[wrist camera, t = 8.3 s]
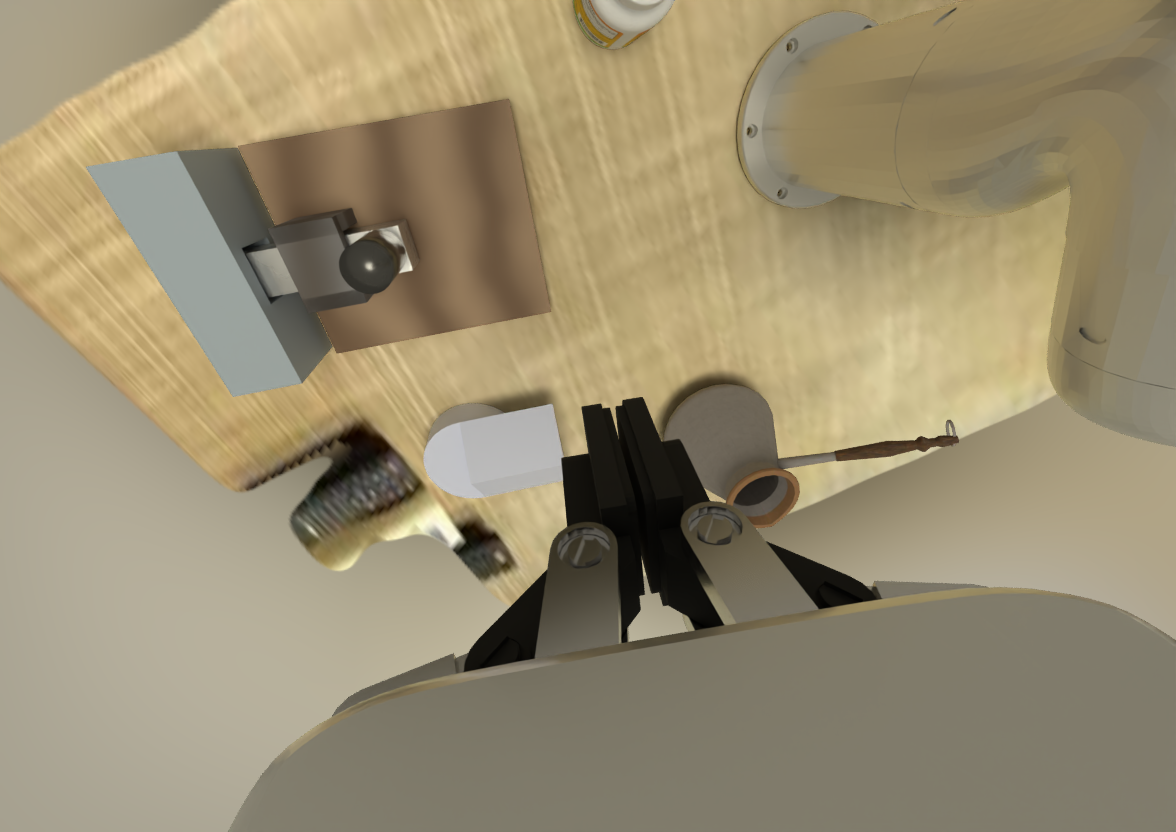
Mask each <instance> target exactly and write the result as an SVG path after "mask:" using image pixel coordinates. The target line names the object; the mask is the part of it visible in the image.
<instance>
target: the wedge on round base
mask: <svg viewBox="0 0 1176 832" xmlns="http://www.w3.org/2000/svg"><path fill="white" fill-rule="evenodd" d="M563 457H564V454H563V450H562V445H561V441H560V436H559V431H558V427H557V422H556V418H555V413H554V409H553V404H548V405H543V406H539V407H534V408H529V409H524V410H519V411H514V412H509V413H504V412H502V411H501V410H499V409H497V408H495V407H492V406H489V405H485V404H478V403H468V404H462V405H458V406H455V407H453V408H450V409H448V410H447V411H445V412H444V413H442V414H441V415H440V416H439V417H438V418H437V419H436V420H435V422H434V423H433V425H432V427H431V430H430V433H429V437H428V441H427V445H426V448H425V452H424V466H425V469H426V472H427V474H428V476H429V477H430V479H431V480H432V481H433V482H434V483H435V484H436V485H437V486H438V487H439V488H441V489H442V490H444V491H446V492H448V493H450V494H453V495H455V496H459V497H464V498H482V497H488V496H493V495H497V494H502V493H507V492H512V491H516V490H521V489H526V488H531V487H535V486H540V485H545V484H550V483H555V482H559V481H563V475H562V464H561V458H563Z"/></svg>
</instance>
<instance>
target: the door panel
mask: <svg viewBox="0 0 1176 832" xmlns="http://www.w3.org/2000/svg"><path fill="white" fill-rule="evenodd" d="M238 147H239V149H240V151H241V153H242V155H243V158H244V160H245V162H246V164H247V166H248V168H249V170H250V172H251V174H252V176H253V179H254V181H255V183H256V185H257V187H258V189H259V191H260V193H261V195H262V197H263V199H264V202H265V204H266V206H267V208H268V210H269V212H270V214H271V216H272V218H273V220H274V223H275V225H276V226H274V227H271V228H269V229H268V231H269V233H270V235H271V237H272V239H273V241H274V243H275V245H276V247H277V249H278V251H279V253H280V255H281V257H282V259H283V261H284V263H285V265H286V267H287V269H288V272H289V274H290V276H291V278H292V280H293V282H294V284H295V286H296V288H297V290H298V292H299V294H300V296H301V298H302V300H303V302H304V304H305V306H306V308H307V311H308V313H309V314H310V313H315V312H317V313H318V315H319V317H320V319H321V321H322V323H323V325H324V327H325V330H326V332H327V334H328V336H329V338H330V340H331V342H332V344H333V346H334V348H335V350H336V353H342V352H347V351H352V350H357V349H363V348H368V347H373V346H378V345H383V344H388V343H393V342H399V341H404V340H409V339H414V338H419V337H424V336H429V335H435V334H440V333H445V332H450V331H455V330H460V329H465V328H471V327H476V326H481V325H486V324H491V323H496V322H501V321H507V320H512V319H517V318H522V317H527V316H532V315H537V314H543V313H548V312H551V308H550V303H549V298H548V293H547V288H546V283H545V278H544V273H543V268H542V263H541V258H540V253H539V248H538V243H537V238H536V233H535V228H534V223H533V218H532V212H531V207H530V202H529V197H528V192H527V187H526V182H525V177H524V172H523V167H522V162H521V157H520V152H519V147H518V142H517V137H516V132H515V127H514V122H513V117H512V112H511V107H510V102H509V99H506V100H500V101H495V102H489V103H483V104H477V105H472V106H466V107H460V108H454V109H449V110H443V111H437V112H431V113H425V114H420V115H414V116H408V117H402V118H397V119H391V120H385V121H379V122H374V123H368V124H362V125H356V126H351V127H345V128H339V129H333V130H328V131H322V132H316V133H310V134H304V135H299V136H293V137H287V138H281V139H276V140H270V141H264V142H258V143H253V144H247V145H241V146H238ZM402 219H406V221H407V224H408V227H409V229H410V232H411V235H412V238H413V241H414V244H415V247H416V250H417V253H418V256H419V259H420V261H419V262H418V264H417V265H416V267H415V268H414V270H412V271H407V272H402V273H398V275H397V276H396V277H395V278H394V280H393V281H392V282H391V284H390V285H389V286H388V287H387V288H386V289H385V290H384V291H382V292H380V293H377V294H365V293H361V292H359V291H357V290H355V289H353V288H352V287H351V286H349V285H348V284H347V283H346V281H345V280H344V279H343V277H342V275H341V273H340V269H339V259H340V256H341V254H342V252H343V251H344V250H345V249H346V248H347V247H348V243H347V241H346V238H345V236H344V234H343V231H344V230H347V229H353V228H358V227H364V226H369V225H374V224H380V223H385V222H391V221H396V220H402Z"/></svg>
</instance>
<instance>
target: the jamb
mask: <svg viewBox="0 0 1176 832" xmlns="http://www.w3.org/2000/svg"><path fill="white" fill-rule="evenodd" d="M86 168H87V170H88V172H89V173H90V175H91V176H92V178H93V179H94V181H95V183H96V184H97V186H98V187H99V189H100V190H101V192H102V193H103V195H104V197H105V198H106V200H107V201H108V203H109V204H110V206H111V207H112V209H113V211H114V212H115V214H116V215H117V217H118V218H119V220H120V221H121V223H122V225H123V226H124V228H125V229H126V231H127V232H128V234H129V236H130V237H131V239H132V240H133V242H134V243H135V245H136V246H137V248H138V250H139V251H140V253H141V254H142V256H143V257H144V259H145V260H146V262H147V264H148V265H149V267H150V268H151V270H152V271H153V273H154V274H155V276H156V278H157V279H158V281H159V282H160V284H161V285H162V287H163V288H164V290H165V292H166V293H167V295H168V296H169V298H170V299H171V301H172V303H173V304H174V306H175V307H176V309H177V310H178V312H179V313H180V315H181V317H182V318H183V320H184V321H185V323H186V324H187V326H188V327H189V329H190V331H191V332H192V334H193V335H194V337H195V338H196V340H197V341H198V343H199V345H200V346H201V348H202V349H203V351H204V352H205V354H206V356H207V357H208V359H209V360H210V362H211V363H212V365H213V366H214V368H215V370H216V371H217V373H218V374H219V376H220V377H221V379H222V380H223V382H224V384H225V385H226V387H227V388H228V390H229V391H230V393H231V394H232V396H233V397H235V396H240V395H245V394H250V393H255V392H261V391H266V390H271V389H276V388H281V387H286V386H291V385H296V384H301V383H303V382H304V380H305V379H306V378H307V377H308V376H309V374H310V373H311V372H312V371H313V369H314V368H315V367H316V366H317V365H318V363H319V362H320V361H321V360H322V359H323V357H324V356H325V355H326V354H327V353H328V351H329V350H330V349H331V348H332V347H333V346H332V344H331V342H330V340H329V338H328V336H327V334H326V332H325V330H324V328H323V325H322V323H321V321H320V319H319V317H318V315H317V313H316V312H315V313H310V314H309V313H308V311H307V308H306V306H305V304H304V302H303V300H302V298H301V296H300V294H299V292H295V293H290V294H285V295H279V296H274V297H269V298H267V296H266V294H265V292H264V290H263V288H262V286H261V285H260V283H259V281H258V279H257V277H256V275H255V273H254V271H253V269H252V267H251V266H250V264H249V262H248V260H247V258H246V256H245V254H244V252H243V250H242V249H243V248H249V247H254V246H260V245H265V244H271V243H274V241H273V239H272V237H271V235H270V233H269V231H268V229H269V228H271V227H274V226H275V225H274V223H273V221H272V219H271V217H270V215H269V213H268V210H267V208H266V206H265V204H264V202H263V200H262V198H261V196H260V194H259V192H258V190H257V187H256V185H255V183H254V181H253V179H252V177H251V175H250V173H249V171H248V169H247V167H246V164H245V162H244V160H243V158H242V156H241V154H240V152H239V150H238V148H227V149H208V150H190V151H175V152H169V153H163V154H158V155H152V156H146V157H140V158H134V159H129V160H123V161H117V162H111V163H106V164H100V165H94V166H88V167H86Z"/></svg>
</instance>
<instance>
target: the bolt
mask: <svg viewBox="0 0 1176 832" xmlns="http://www.w3.org/2000/svg"><path fill="white" fill-rule="evenodd" d="M343 234H344V236H345V238H346V241H347V243H348V247H347V248H346V249H345V250H344V251H343V252H342V254H341V256H340V259H339V269H340V273H341V275H342V277H343V279H344V280H345V281H346V283H347V284H348V285H349V286H351V287H352V288H353V289H355V290H357V291H359V292H361V293H365V294H377V293H380V292H382V291H384V290H385V289H386V288H387V287H388V286H389V285H390V284H391V282H392V281H393V280H394V278H395V277H396V276H397V275H398V273H402V272H407V271H412V270H414V268H415V267H416V265H417V264H418V262H419V261H420V259H419V256H418V253H417V250H416V247H415V244H414V241H413V238H412V235H411V232H410V229H409V227H408V224H407V221H406V219H402V220H396V221H391V222H385V223H380V224H374V225H369V226H364V227H358V228H353V229H347V230H344V231H343ZM242 250H243V252H244V254H245V256H246V258H247V260H248V262H249V264H250V266H251V267H252V269H253V271H254V273H255V275H256V277H257V279H258V281H259V283H260V285H261V286H262V288H263V290H264V292H265V294H266V296H267V298H269V297H274V296H279V295H285V294H290V293H295V292H298V290H297V288H296V286H295V284H294V282H293V280H292V278H291V276H290V274H289V272H288V269H287V267H286V265H285V263H284V261H283V259H282V257H281V255H280V253H279V251H278V249H277V247H276V245H275V243H271V244H265V245H260V246H254V247H249V248H243V249H242Z"/></svg>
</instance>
